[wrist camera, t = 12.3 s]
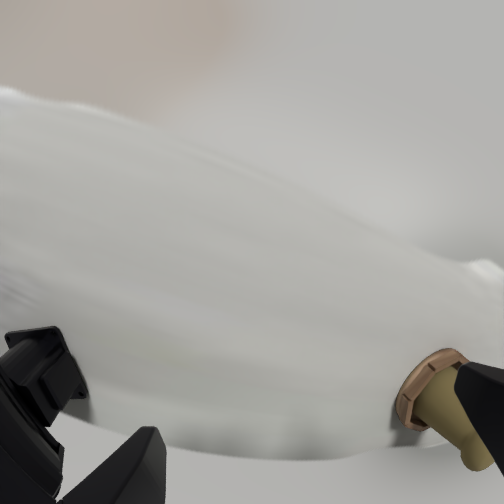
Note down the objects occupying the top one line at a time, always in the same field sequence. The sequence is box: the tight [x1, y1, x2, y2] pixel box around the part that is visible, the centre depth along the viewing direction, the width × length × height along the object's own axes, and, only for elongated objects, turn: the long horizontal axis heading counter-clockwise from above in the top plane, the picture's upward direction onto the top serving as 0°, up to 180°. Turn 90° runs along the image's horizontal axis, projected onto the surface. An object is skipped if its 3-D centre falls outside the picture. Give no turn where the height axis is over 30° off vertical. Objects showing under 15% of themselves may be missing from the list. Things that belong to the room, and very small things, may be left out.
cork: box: [412, 366, 495, 471], centre depth 17 cm, size 6×6×11 cm
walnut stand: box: [396, 348, 470, 432], centre depth 23 cm, size 9×9×2 cm
